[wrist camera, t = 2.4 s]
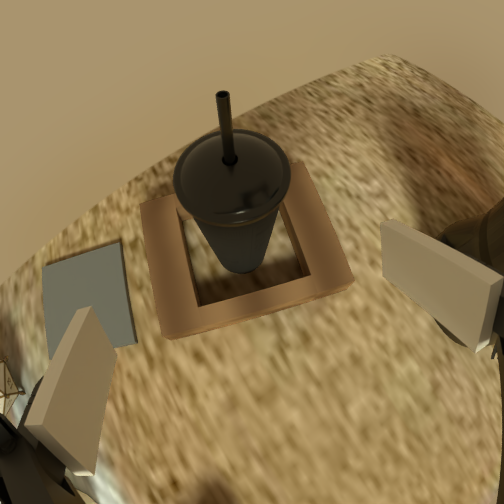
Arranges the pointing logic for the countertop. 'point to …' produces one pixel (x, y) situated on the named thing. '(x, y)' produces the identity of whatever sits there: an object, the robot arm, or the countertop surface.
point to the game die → (7, 388)
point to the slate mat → (88, 295)
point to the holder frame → (256, 303)
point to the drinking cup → (233, 189)
